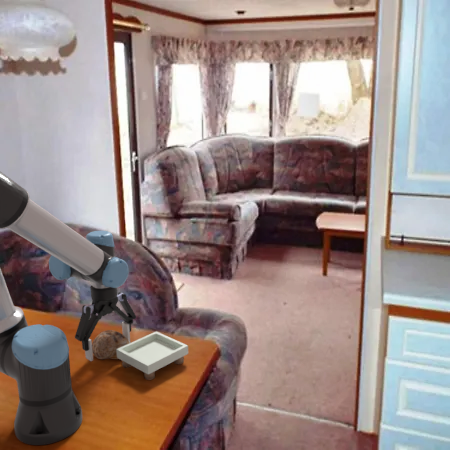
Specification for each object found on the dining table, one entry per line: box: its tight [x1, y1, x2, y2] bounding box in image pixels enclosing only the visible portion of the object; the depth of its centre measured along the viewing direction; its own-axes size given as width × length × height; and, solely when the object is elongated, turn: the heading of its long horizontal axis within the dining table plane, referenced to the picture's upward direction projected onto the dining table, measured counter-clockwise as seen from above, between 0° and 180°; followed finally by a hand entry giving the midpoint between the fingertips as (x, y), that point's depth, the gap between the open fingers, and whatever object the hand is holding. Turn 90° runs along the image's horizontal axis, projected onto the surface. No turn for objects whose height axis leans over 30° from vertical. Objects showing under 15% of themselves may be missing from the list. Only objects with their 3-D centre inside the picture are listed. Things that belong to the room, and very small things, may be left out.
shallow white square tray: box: [116, 330, 189, 381], centre depth 145 cm, size 15×14×5 cm
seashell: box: [92, 329, 129, 360], centre depth 150 cm, size 10×9×10 cm
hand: (108, 350), depth 150 cm, fingers open, 13 cm apart
